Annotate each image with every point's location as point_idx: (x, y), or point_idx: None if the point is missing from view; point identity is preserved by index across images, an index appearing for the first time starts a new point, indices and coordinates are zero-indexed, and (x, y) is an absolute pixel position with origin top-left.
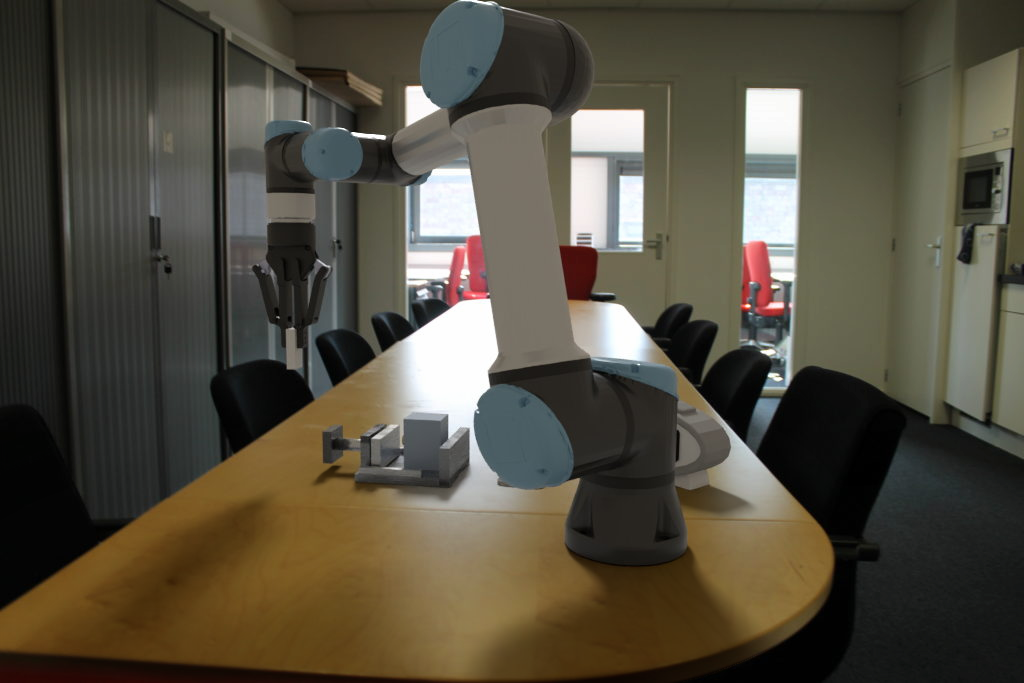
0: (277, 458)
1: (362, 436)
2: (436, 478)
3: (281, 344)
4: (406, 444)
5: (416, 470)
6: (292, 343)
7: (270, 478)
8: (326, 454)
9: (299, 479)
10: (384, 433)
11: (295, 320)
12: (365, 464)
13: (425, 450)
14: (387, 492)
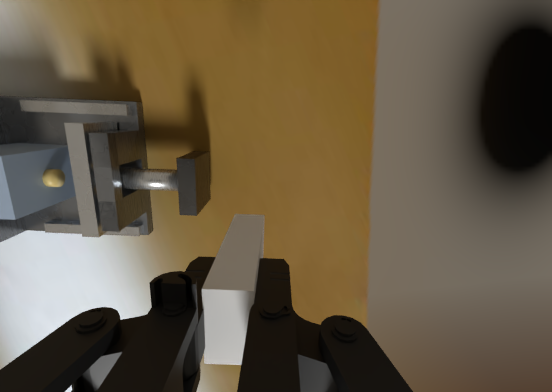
0: (307, 205)
1: (102, 133)
2: (2, 98)
3: (288, 266)
4: (39, 149)
5: (27, 101)
6: (230, 253)
7: (275, 99)
8: (199, 153)
9: (229, 101)
10: (77, 167)
11: (181, 327)
12: (126, 130)
13: (12, 147)
14: (70, 55)
